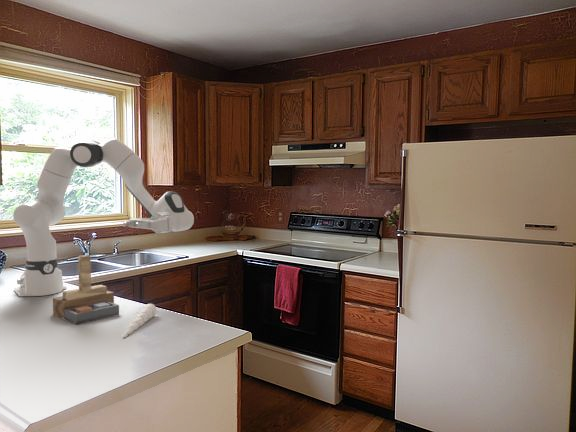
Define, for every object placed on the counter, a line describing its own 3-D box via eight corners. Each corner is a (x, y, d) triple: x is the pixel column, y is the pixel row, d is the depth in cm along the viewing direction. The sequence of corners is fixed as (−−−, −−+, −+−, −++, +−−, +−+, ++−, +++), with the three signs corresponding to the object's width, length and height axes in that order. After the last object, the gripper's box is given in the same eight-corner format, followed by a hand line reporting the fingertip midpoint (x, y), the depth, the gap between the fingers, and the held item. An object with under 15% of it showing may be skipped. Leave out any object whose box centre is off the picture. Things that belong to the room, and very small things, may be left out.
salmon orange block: (80, 310, 148) (80, 319, 149) (92, 307, 151) (92, 316, 152) (75, 308, 151) (75, 316, 151) (86, 305, 154) (87, 314, 154)
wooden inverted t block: (63, 298, 156) (61, 257, 155) (101, 291, 167) (100, 253, 166) (68, 300, 154) (66, 258, 153) (106, 292, 164) (105, 254, 163)
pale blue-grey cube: (99, 306, 153) (99, 315, 153) (110, 304, 156) (110, 312, 156) (93, 304, 156) (93, 312, 156) (104, 302, 159) (104, 310, 159)
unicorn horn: (110, 339, 133) (110, 323, 133) (144, 316, 157) (144, 302, 156) (125, 339, 133) (125, 324, 132) (157, 316, 156) (157, 303, 156)
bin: (64, 319, 152) (64, 309, 151) (106, 310, 163) (106, 300, 163) (76, 324, 146) (76, 314, 146) (119, 314, 157) (118, 304, 157)
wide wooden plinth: (53, 314, 157) (52, 297, 157) (102, 304, 171) (101, 288, 171) (64, 319, 152) (63, 302, 151) (114, 308, 165) (113, 292, 165)
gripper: (146, 214, 195) (116, 215, 184) (174, 216, 182) (144, 218, 171) (146, 228, 195) (117, 231, 185) (174, 231, 182) (144, 234, 171)
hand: (130, 224), depth 178 cm, fingers open, 8 cm apart
